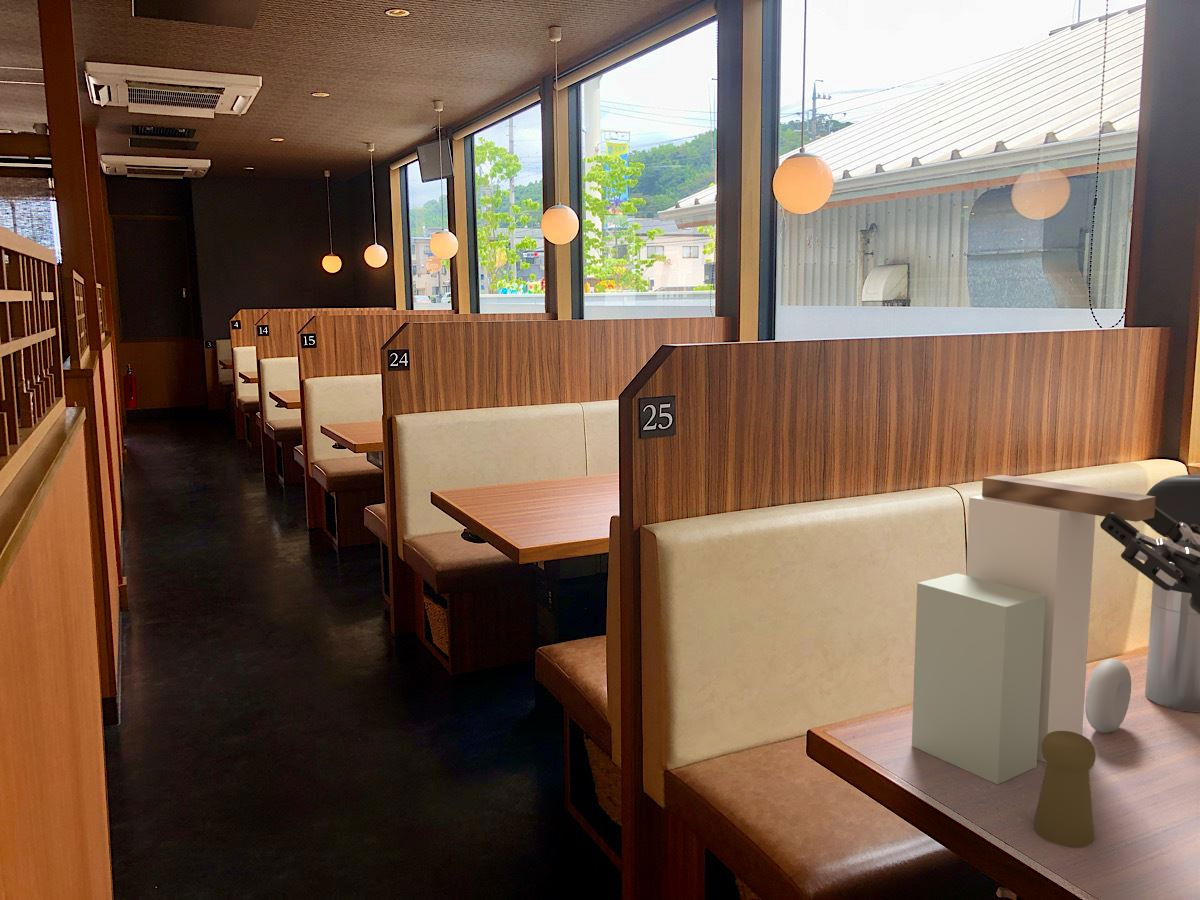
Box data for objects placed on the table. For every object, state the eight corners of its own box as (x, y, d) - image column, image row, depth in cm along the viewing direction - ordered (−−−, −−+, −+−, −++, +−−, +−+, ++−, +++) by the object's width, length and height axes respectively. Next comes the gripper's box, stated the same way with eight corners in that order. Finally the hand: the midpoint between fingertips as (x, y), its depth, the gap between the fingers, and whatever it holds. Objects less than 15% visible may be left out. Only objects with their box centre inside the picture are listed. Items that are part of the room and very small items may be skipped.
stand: (1081, 746, 121) (1096, 505, 117) (997, 784, 111) (1010, 523, 107) (995, 713, 131) (1005, 490, 127) (911, 745, 122) (919, 506, 117)
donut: (1107, 747, 121) (1111, 673, 119) (1079, 738, 123) (1083, 666, 122) (1132, 723, 127) (1137, 653, 126) (1105, 716, 130) (1109, 647, 129)
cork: (1108, 840, 99) (1114, 743, 98) (1064, 852, 97) (1070, 752, 96) (1062, 813, 105) (1068, 720, 103) (1020, 823, 103) (1025, 729, 101)
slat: (981, 496, 123) (982, 477, 123) (1000, 492, 126) (1001, 474, 125) (1136, 521, 107) (1137, 500, 106) (1154, 517, 109) (1155, 496, 109)
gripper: (1305, 574, 101) (1174, 482, 112) (1244, 596, 93) (1110, 496, 104) (1260, 622, 105) (1138, 530, 116) (1199, 647, 97) (1074, 546, 108)
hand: (1125, 514), depth 110 cm, fingers open, 8 cm apart
